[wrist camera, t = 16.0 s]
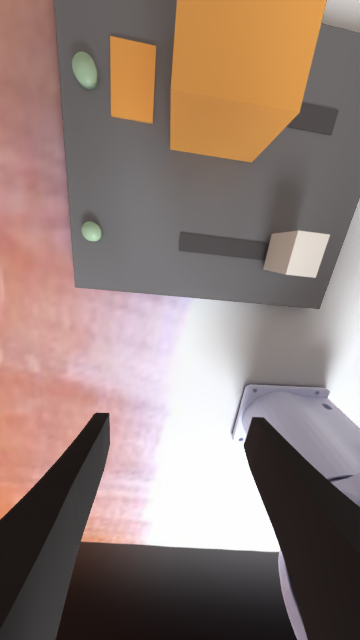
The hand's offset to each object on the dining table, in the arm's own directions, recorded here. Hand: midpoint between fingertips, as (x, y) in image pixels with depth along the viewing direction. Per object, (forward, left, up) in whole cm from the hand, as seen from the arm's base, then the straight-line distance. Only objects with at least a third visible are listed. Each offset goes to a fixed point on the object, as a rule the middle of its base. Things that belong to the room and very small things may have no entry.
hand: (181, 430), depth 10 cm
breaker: (-7, -9, -8) cm, 14 cm away
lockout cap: (-1, -17, -8) cm, 19 cm away
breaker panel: (-2, -13, -9) cm, 16 cm away
